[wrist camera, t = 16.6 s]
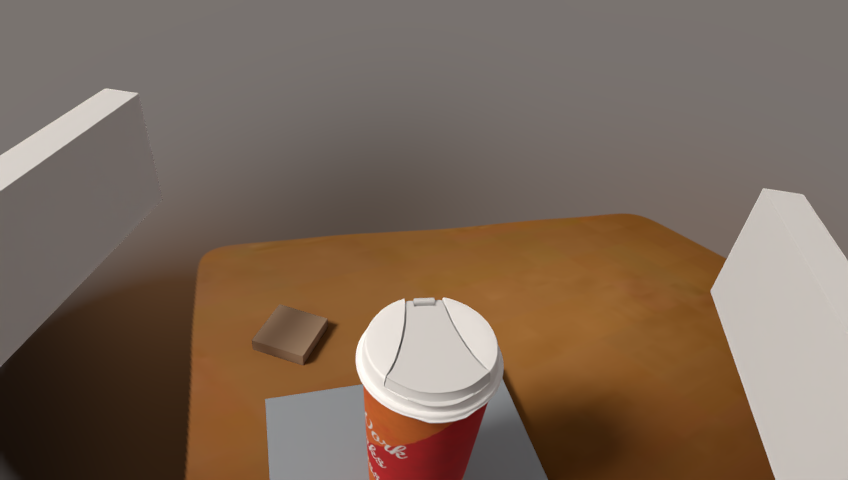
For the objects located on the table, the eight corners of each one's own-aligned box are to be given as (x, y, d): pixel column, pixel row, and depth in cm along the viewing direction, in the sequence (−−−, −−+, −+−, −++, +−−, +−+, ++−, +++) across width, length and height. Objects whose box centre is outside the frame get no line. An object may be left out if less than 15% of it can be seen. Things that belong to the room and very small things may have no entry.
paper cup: (351, 440, 40) (353, 291, 32) (460, 433, 42) (489, 286, 33) (356, 557, 34) (359, 410, 26) (483, 544, 35) (526, 400, 27)
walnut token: (327, 331, 50) (327, 318, 49) (303, 369, 47) (302, 356, 46) (280, 316, 51) (279, 304, 50) (253, 352, 48) (251, 340, 47)
